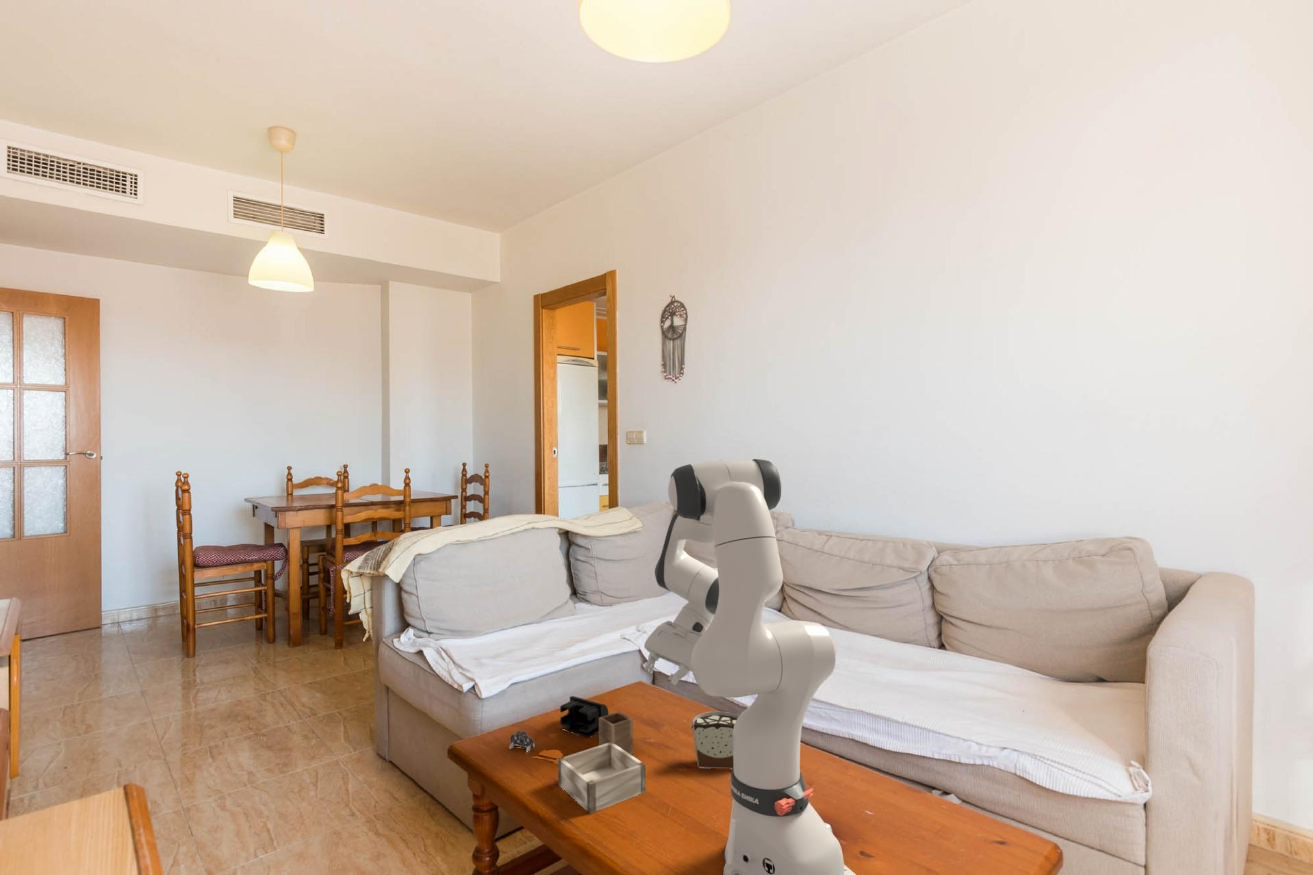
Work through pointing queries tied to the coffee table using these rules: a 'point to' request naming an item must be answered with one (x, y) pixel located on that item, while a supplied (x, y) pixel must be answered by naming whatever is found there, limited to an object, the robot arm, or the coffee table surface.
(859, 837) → the coffee table surface
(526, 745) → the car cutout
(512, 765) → the coffee table surface
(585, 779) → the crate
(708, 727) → the food container
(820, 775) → the coffee table surface
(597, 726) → the end cap
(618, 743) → the small crate
